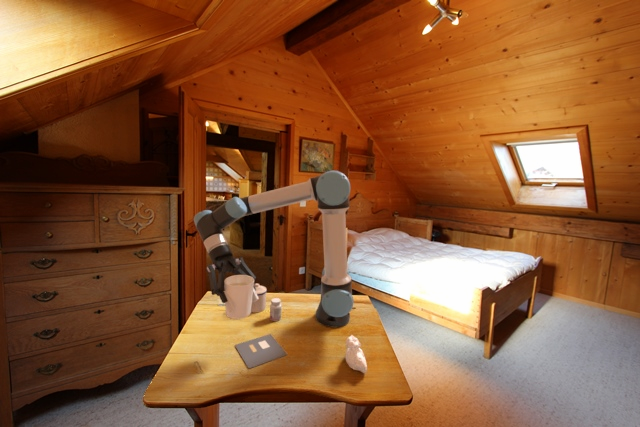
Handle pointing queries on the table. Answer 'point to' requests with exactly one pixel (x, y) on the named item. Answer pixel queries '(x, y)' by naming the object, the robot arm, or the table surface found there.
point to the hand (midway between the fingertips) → (244, 305)
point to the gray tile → (260, 351)
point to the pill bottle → (275, 309)
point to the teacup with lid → (261, 302)
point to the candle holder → (239, 295)
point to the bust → (355, 355)
